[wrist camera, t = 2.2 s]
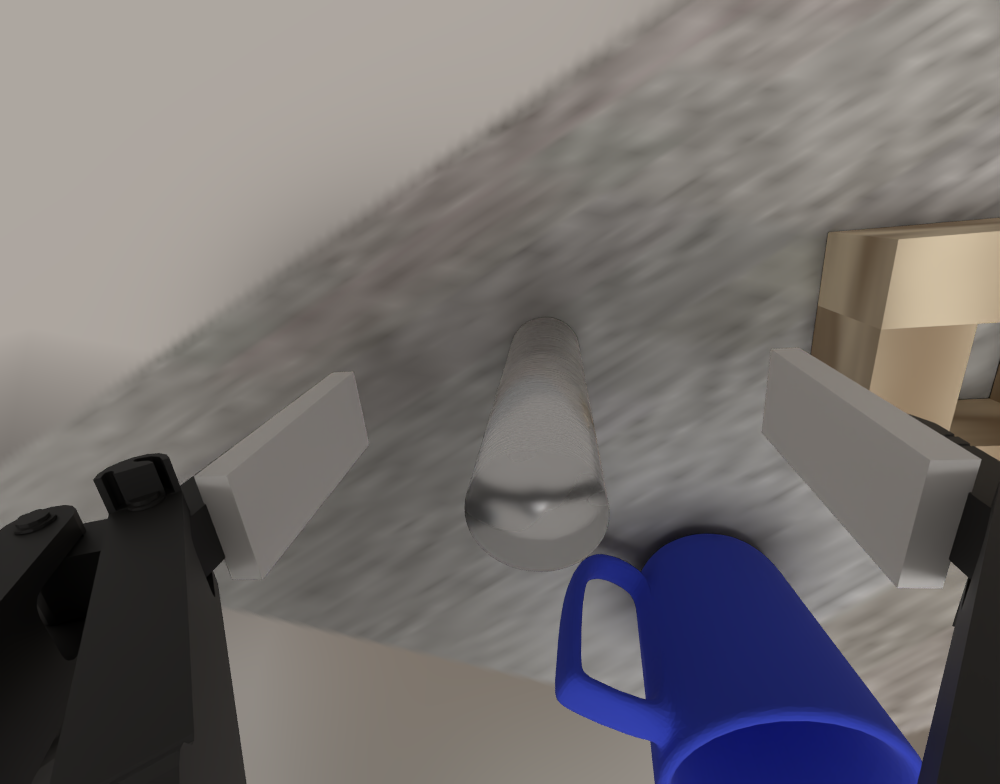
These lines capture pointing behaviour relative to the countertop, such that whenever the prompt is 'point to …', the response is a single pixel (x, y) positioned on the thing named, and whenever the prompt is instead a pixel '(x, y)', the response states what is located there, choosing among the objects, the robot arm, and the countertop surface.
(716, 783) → the mug
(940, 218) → the countertop surface
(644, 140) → the countertop surface
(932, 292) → the hole block
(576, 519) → the peg
